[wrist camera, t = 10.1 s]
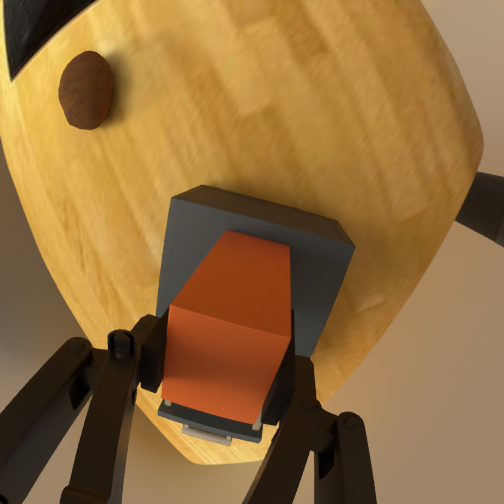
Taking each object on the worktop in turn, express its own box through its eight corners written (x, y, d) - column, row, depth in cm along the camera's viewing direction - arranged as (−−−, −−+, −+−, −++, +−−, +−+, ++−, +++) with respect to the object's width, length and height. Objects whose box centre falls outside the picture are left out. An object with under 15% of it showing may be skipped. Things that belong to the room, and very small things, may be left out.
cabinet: (291, 347, 36) (291, 397, 28) (178, 316, 36) (152, 359, 28) (337, 220, 30) (355, 246, 22) (201, 184, 31) (170, 196, 22)
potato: (82, 138, 30) (49, 139, 24) (76, 69, 27) (45, 61, 21) (125, 121, 29) (94, 118, 23) (117, 49, 26) (88, 36, 20)
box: (289, 245, 23) (291, 338, 11) (269, 312, 25) (254, 425, 13) (226, 229, 23) (169, 304, 11) (211, 296, 25) (160, 398, 14)
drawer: (256, 423, 40) (251, 458, 34) (171, 399, 41) (156, 431, 34) (298, 322, 34) (299, 360, 27) (185, 292, 34) (163, 322, 27)
